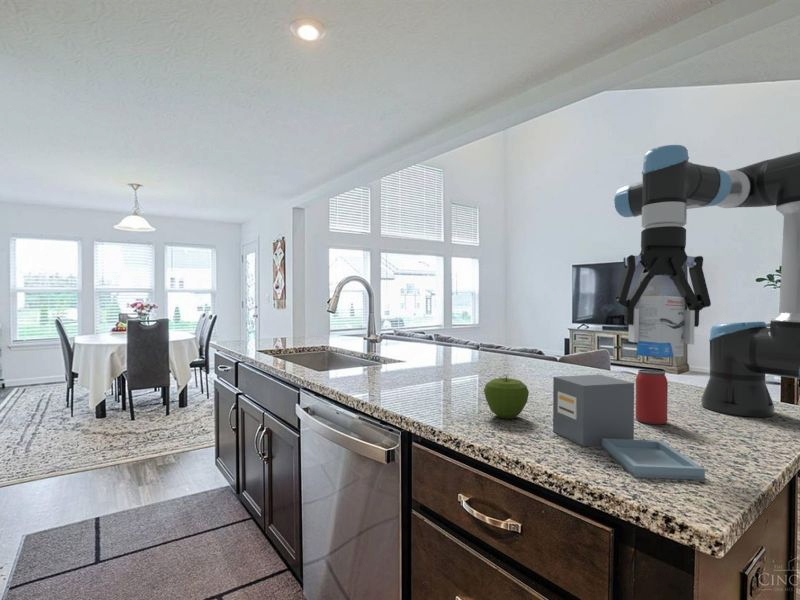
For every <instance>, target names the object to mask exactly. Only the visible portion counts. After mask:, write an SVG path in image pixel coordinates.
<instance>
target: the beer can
mask: <svg viewBox="0 0 800 600" xmlns="http://www.w3.org/2000/svg"><path fill="white" fill-rule="evenodd" d="M668 384H669V383H668V378H667V376H666V372H665V371H663V370H657V369H647V368H645V369H638V373H637V374H636V377H635V419H636V420H637V421H639V422H641V423H643V424H647V425H653V426H654V425H655V426H659V425H660V426H661V425H665V424H666V423H667V422H668V400H669V399H668V386H669V385H668Z"/></svg>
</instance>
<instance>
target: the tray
mask: <svg viewBox="0 0 800 600" xmlns="http://www.w3.org/2000/svg"><path fill="white" fill-rule="evenodd" d="M601 448H602V450H604V451H605V452H606V453H607V454H608V455H609V456H610V457H611V458H613V459H614V461H615V462H616V463H618V464H619V465H620V466H621V467H622V468H623V469H624V470H625V471H626V472H628V473H629V474H630V475H631V476H632V477H633V478H643V479H644V478H647V479H648V478H649V479H651V478H653V479H668V480H669V479H674V480H697V481H705V480H706V479H705V478H706V468H704V467H703V466H701V465H700V464H698V463H696V462H695V461H693V460H692V459H691V458H689V457H687V455H686V456H685V455H684V454H683V453H681V452H680V451H678V450H676V449H675V448H673V447H672V446H670V445H669V444H667V443H666V442H664V441H663V440H661V439H660V440H659V439H658V440H657V439H635V438H634V439H604V438H602V445H601Z"/></svg>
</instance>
